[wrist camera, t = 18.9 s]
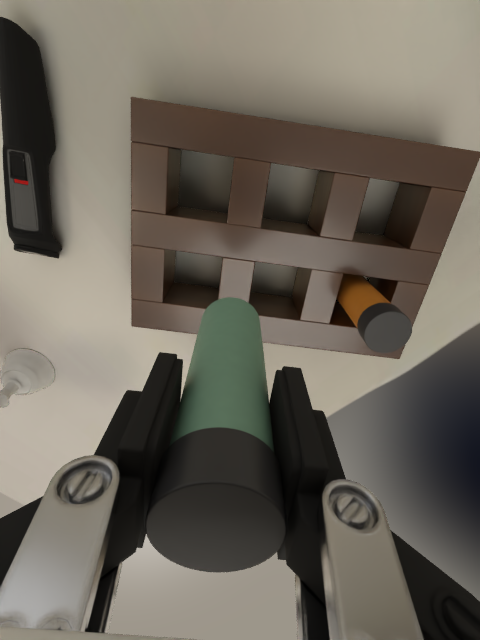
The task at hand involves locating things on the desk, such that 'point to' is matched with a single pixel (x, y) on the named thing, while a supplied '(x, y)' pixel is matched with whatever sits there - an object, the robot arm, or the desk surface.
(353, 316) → the amber tube
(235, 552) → the sage tube
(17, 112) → the electric trimmer
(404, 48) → the desk surface
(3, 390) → the chalice
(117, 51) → the desk surface
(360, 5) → the desk surface
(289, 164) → the rack
